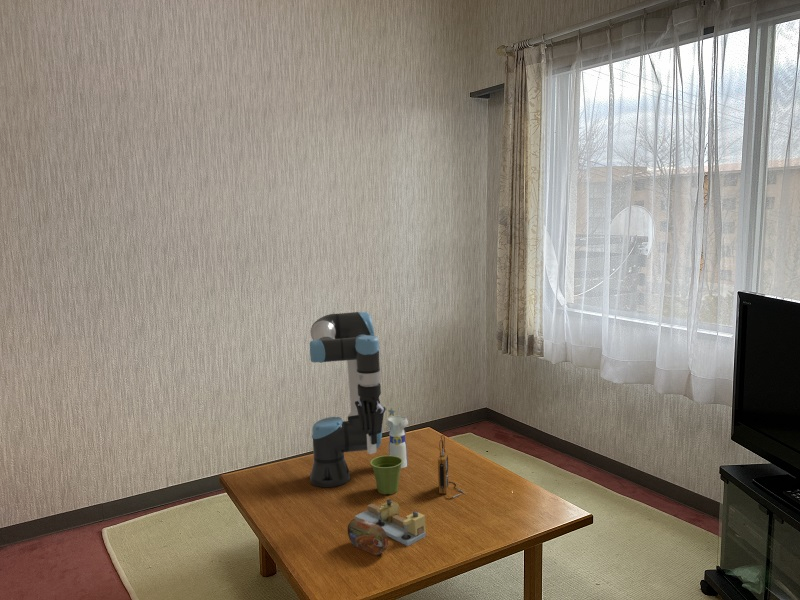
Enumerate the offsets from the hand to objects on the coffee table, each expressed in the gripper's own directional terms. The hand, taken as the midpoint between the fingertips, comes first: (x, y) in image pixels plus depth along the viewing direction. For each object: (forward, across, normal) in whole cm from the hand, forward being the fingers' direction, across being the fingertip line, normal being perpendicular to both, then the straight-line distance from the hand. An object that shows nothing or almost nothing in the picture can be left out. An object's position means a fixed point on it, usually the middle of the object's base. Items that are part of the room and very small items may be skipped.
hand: (372, 452), depth 205 cm
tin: (+22, +15, -16) cm, 31 cm away
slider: (+20, +8, -2) cm, 22 cm away
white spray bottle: (+23, -24, +34) cm, 48 cm away
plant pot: (+22, -10, +15) cm, 29 cm away
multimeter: (+22, +8, +31) cm, 39 cm away
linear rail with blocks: (+22, +10, -3) cm, 24 cm away
